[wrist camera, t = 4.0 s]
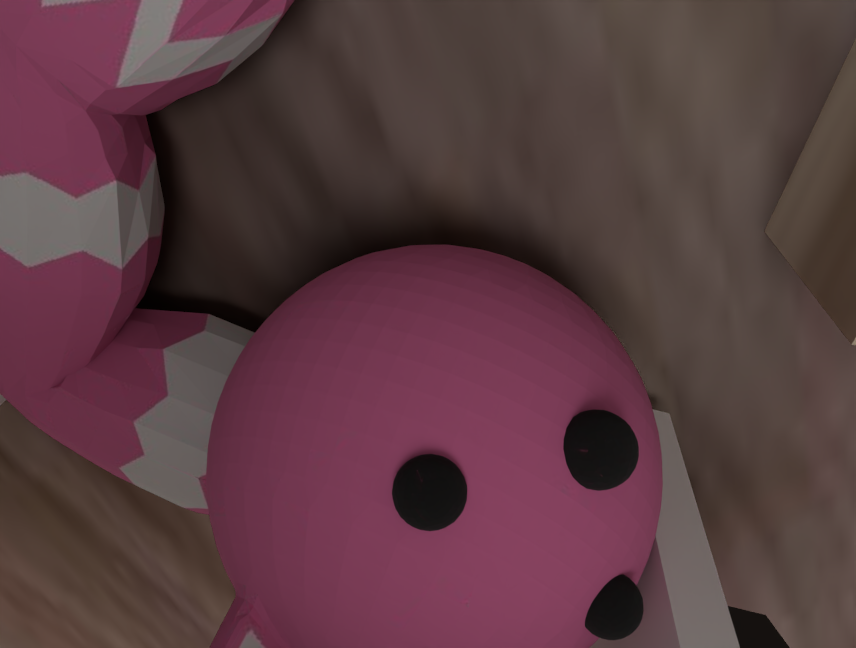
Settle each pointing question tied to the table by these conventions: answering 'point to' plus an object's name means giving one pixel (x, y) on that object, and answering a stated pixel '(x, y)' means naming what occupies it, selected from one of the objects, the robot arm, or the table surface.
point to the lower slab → (825, 206)
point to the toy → (312, 376)
